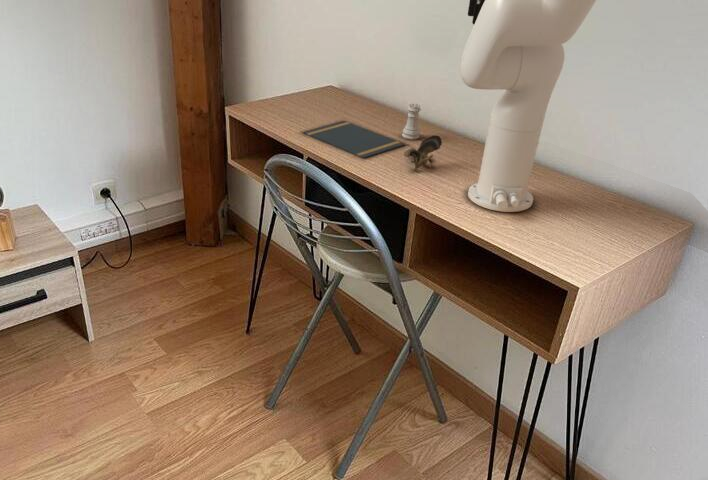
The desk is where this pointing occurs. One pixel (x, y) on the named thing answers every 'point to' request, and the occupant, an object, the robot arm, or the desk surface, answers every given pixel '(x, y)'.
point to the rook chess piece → (412, 123)
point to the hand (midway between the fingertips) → (477, 20)
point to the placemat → (354, 139)
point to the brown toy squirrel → (424, 151)
